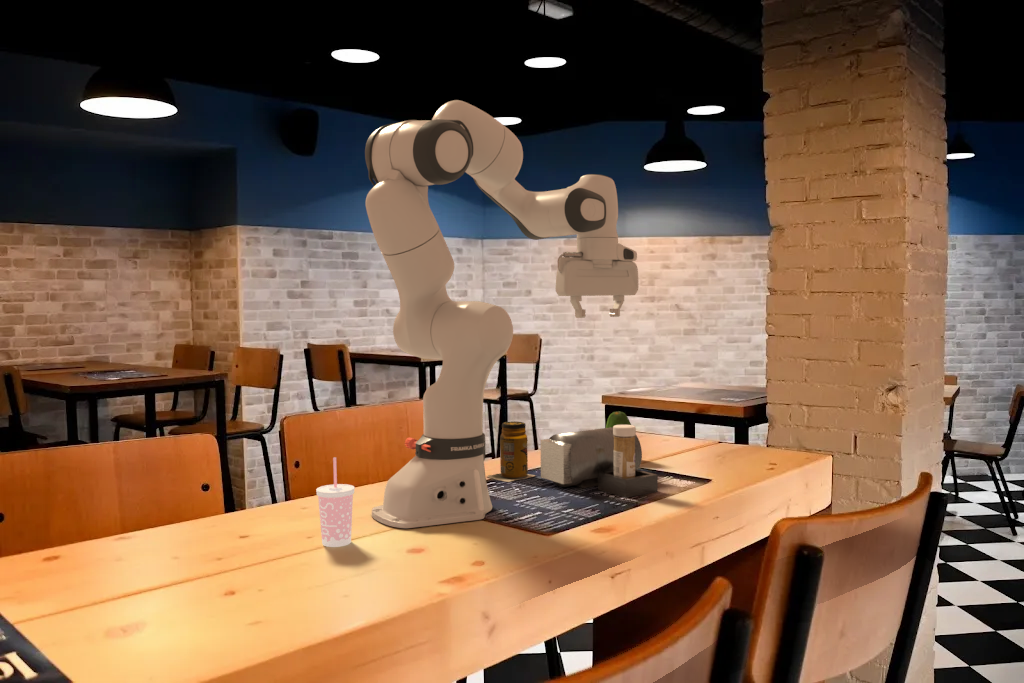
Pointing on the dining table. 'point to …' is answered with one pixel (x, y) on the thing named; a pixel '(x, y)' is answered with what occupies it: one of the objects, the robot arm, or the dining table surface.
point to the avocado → (617, 419)
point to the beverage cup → (335, 512)
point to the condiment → (513, 453)
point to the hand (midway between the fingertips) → (597, 317)
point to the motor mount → (592, 463)
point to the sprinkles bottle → (624, 450)
